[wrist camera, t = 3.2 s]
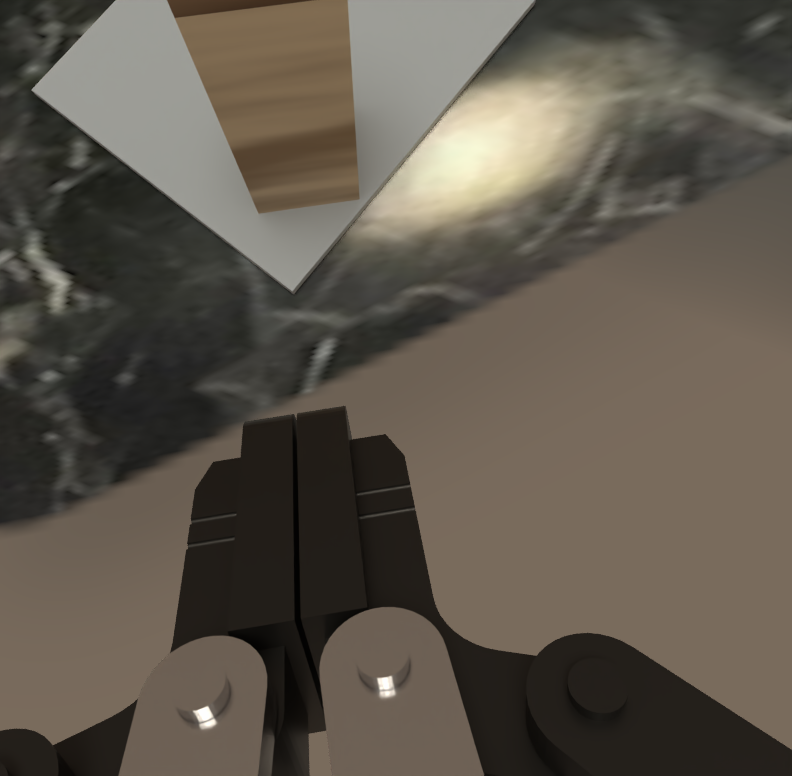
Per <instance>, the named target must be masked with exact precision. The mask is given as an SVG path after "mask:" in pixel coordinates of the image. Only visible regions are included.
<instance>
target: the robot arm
mask: <svg viewBox="0 0 792 776" xmlns="http://www.w3.org/2000/svg"><path fill="white" fill-rule="evenodd" d="M191 521H192V524H191V525H190V528H189V535H188V542H187V544H188V549H187V550H186V555H185V562H184V570H183V576H182V583H181V590H180V597H179V604H178V610H177V617H176V624H175V630H174V637H173V644H172V648H171V652H170V654H169V655H168V656H167V657H165V658H164V659H163V660H162V661H161V662H160V663H159V664H158V665H157V666H156V667H155V668H154V670H153V671H152V673H151V674H150V676H149V677H148V678H147V680H146V682H145V683H144V686H143V687H142V689H141V692H140V695H139V698H138V699H137V700H136V701H135V702H134V703H133V704H131V705H130V706H128V707H127V708H125V709H124V710H123V711H121V712H119V713H118V714H116V715H114V716H112V717H110V718H108V719H106V720H104V721H102V722H101V723H98V724H96V725H94V726H92V727H90V728H88V729H86V730H84V731H82V732H80V733H78V734H76V735H74V736H71V737H69V738H67V739H65V740H63V741H61V742H59V743H57V744H55V745H52V744H51V743H50V742H49V741H48V740H47V739H46V738H45V737H44V736H43V735H41V734H39V733H37V732H35V731H31V730H27V729H9V730H3V731H0V776H309V742H308V741H309V740H308V734H309V733H315V732H321V731H327V738H328V747H329V755H330V762H331V771H332V776H792V750H791V749H789V748H788V747H786V746H785V745H783V744H782V743H780V742H779V741H777V740H776V739H774V738H772V737H771V736H769V735H768V734H766V733H765V732H763V731H762V730H760V729H759V728H757V727H755V726H754V725H752V724H751V723H749V722H748V721H746V720H745V719H743V718H742V717H740V716H738V715H737V714H735V713H734V712H732V711H731V710H729V709H728V708H726V707H725V706H723V705H721V704H720V703H718V702H717V701H715V700H713V699H712V698H711V697H709V696H708V695H706V694H704V693H703V692H701V691H700V690H698V689H697V688H695V687H694V686H692V685H691V684H689V683H687V682H686V681H684V680H683V679H681V678H680V677H678V676H677V675H675V674H674V673H672V672H670V671H669V670H667V669H666V668H664V667H663V666H661V665H660V664H658V663H656V662H655V661H653V660H652V659H650V658H649V657H647V656H646V655H644V654H643V653H641V652H639V651H638V650H636V649H635V648H633V647H632V646H630V645H628V644H626V643H624V642H622V641H620V640H618V639H615V638H612V637H609V636H605V635H601V634H592V633H581V634H573V635H568V636H564V637H562V638H560V639H557V640H555V641H553V642H552V643H550V644H549V645H547V646H546V647H545V648H544V649H543V650H542V651H541V652H539V654H538V655H537V656H533V655H527V654H519V653H512V652H505V651H498V650H493V649H489V648H484V647H482V646H479V645H476V644H474V643H472V642H470V641H468V640H466V639H464V638H463V637H461V636H460V635H458V634H457V633H456V632H454V631H453V630H452V629H451V628H450V627H449V626H448V625H447V624H446V622H445V621H444V620H443V618H442V617H441V616H440V614H439V612H438V610H437V608H436V605H435V602H434V598H433V594H432V589H431V584H430V579H429V575H428V570H427V564H426V560H425V555H424V550H423V545H422V540H421V535H420V530H419V525H418V520H417V516H416V511H415V506H414V500H413V496H412V491H411V487H410V481H409V476H408V471H407V466H406V461H405V456H404V455H403V453H402V452H401V451H400V450H399V449H398V448H397V447H396V446H395V444H394V443H393V442H392V441H391V440H390V439H389V438H388V437H387V436H386V434H384V435H378V436H371V437H365V438H359V439H353V440H352V437H351V431H350V426H349V421H348V415H347V410H346V406H342V407H335V408H329V409H322V410H316V411H310V412H304V413H298V414H297V420H296V418H295V415H294V414H292V415H286V416H279V417H273V418H266V419H260V420H254V421H247V422H245V423H244V425H243V434H242V447H241V458H235V459H229V460H223V461H216V462H213V463H212V465H211V466H210V468H209V469H208V471H207V472H206V474H205V475H204V477H203V479H202V480H201V482H200V483H199V484H198V486H197V487H196V489H195V494H194V501H193V508H192V514H191Z"/></svg>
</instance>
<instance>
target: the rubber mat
mask: <svg viewBox="0 0 792 776" xmlns="http://www.w3.org/2000/svg"><path fill="white" fill-rule="evenodd" d="M535 1H536V0H348V14H349V30H350V47H351V64H352V81H353V97H354V114H355V131H356V148H357V164H358V181H359V198H360V199H359V200H352V201H345V202H338V203H331V204H324V205H316V206H309V207H302V208H295V209H288V210H281V211H274V212H267V213H260V214H258V211H257V209H256V207H255V204H254V202H253V200H252V197H251V195H250V193H249V190H248V188H247V186H246V183H245V181H244V179H243V176H242V174H241V172H240V169H239V167H238V165H237V163H236V160H235V158H234V156H233V153H232V151H231V149H230V146H229V144H228V142H227V139H226V137H225V135H224V132H223V130H222V128H221V125H220V123H219V121H218V118H217V116H216V114H215V111H214V109H213V107H212V104H211V102H210V100H209V97H208V95H207V93H206V90H205V88H204V86H203V83H202V81H201V79H200V76H199V74H198V72H197V69H196V67H195V65H194V62H193V60H192V58H191V55H190V53H189V51H188V48H187V46H186V44H185V41H184V39H183V37H182V34H181V32H180V30H179V27H178V25H177V23H176V20H175V18H174V16H173V13H172V11H171V9H170V6H169V4H168V2H167V0H116V1H115V2H114V3H113V4H112V5H111V6H110V7H109V8H108V9H107V10H106V11H105V12H104V13H103V14H102V15H101V17H100V18H99V19H98V20H97V21H96V22H95V23H94V24H93V25H92V26H91V27H90V28H89V29H88V30H87V31H86V32H85V34H84V35H83V36H82V37H81V38H80V39H79V40H78V41H77V42H76V43H75V44H74V45H73V46H72V47H71V48H70V49H69V51H68V52H67V53H66V54H65V55H64V56H63V57H62V58H61V59H60V60H59V61H58V62H57V63H56V64H55V65H54V66H53V68H52V69H51V70H50V71H49V72H48V73H47V74H46V75H45V76H44V77H43V78H42V79H41V80H40V81H39V82H38V83H37V85H36V86H35V87H34V88H33V89H32V91H33V92H34V93H35V95H36V96H37V97H39V98H40V99H41V100H42V101H44V102H45V103H46V104H48V105H49V106H50V107H51V108H53V109H54V110H55V111H57V112H58V113H59V114H61V115H62V116H63V117H64V118H66V119H67V120H68V121H70V122H71V123H72V124H73V125H75V126H76V127H77V128H79V129H80V130H81V131H83V132H84V133H85V134H86V135H88V136H89V137H90V138H92V139H93V140H94V141H95V142H97V143H98V144H99V145H101V146H102V147H103V148H105V149H106V150H107V151H108V152H110V153H111V154H112V155H114V156H115V157H116V158H117V159H119V160H120V161H121V162H123V163H124V164H125V165H127V166H128V167H129V168H130V169H132V170H133V171H134V172H136V173H137V174H138V175H139V176H141V177H142V178H143V179H145V180H146V181H147V182H149V183H150V184H151V185H152V186H154V187H155V188H156V189H158V190H159V191H160V192H161V193H163V194H164V195H165V196H167V197H168V198H169V199H171V200H172V201H173V202H174V203H176V204H177V205H178V206H180V207H181V208H182V209H183V210H185V211H186V212H187V213H189V214H190V215H191V216H192V217H194V218H195V219H196V220H198V221H199V222H200V223H202V224H203V225H204V226H205V227H207V228H208V229H209V230H211V231H212V232H213V233H214V234H216V235H217V236H218V237H220V238H221V239H222V240H224V241H225V242H226V243H227V244H229V245H230V246H231V247H233V248H234V249H235V250H236V251H238V252H239V253H240V254H242V255H243V256H244V257H246V258H247V259H248V260H249V261H251V262H252V263H253V264H255V265H256V266H257V267H258V268H260V269H261V270H262V271H264V272H265V273H266V274H268V275H269V276H270V277H271V278H273V279H274V280H275V281H277V282H278V283H279V284H280V285H282V286H283V287H284V288H286V289H287V290H288V291H290V292H291V293H292V294H293V295H294V294H295V292H296V291H297V290H298V289H299V287H300V286H301V285H302V284H303V283H304V281H305V280H306V279H307V278H308V277H309V275H310V274H311V273H312V272H313V271H314V269H315V268H316V267H317V266H318V265H319V263H320V262H321V261H322V260H323V259H324V257H325V256H326V255H327V254H328V253H329V251H330V250H331V249H332V248H333V247H334V245H335V244H336V243H337V242H338V241H339V239H340V238H341V237H342V236H343V235H344V233H345V232H346V231H347V230H348V229H349V227H350V226H351V225H352V224H353V223H354V221H355V220H356V219H357V218H358V217H359V215H360V214H361V213H362V212H363V211H364V209H365V208H366V207H367V206H368V204H369V203H370V202H371V201H372V200H373V198H374V197H375V196H376V195H377V194H378V192H379V191H380V190H381V189H382V188H383V186H384V185H385V184H386V183H387V182H388V180H389V179H390V178H391V177H392V176H393V174H394V173H395V172H396V171H397V170H398V168H399V167H400V166H401V165H402V164H403V162H404V161H405V160H406V159H407V158H408V156H409V155H410V154H411V153H412V152H413V150H414V149H415V148H416V147H417V146H418V144H419V143H420V142H421V141H422V140H423V138H424V137H425V136H426V135H427V134H428V132H429V131H430V130H431V129H432V128H433V126H434V125H435V124H436V123H437V121H438V120H439V119H440V118H441V117H442V115H443V114H444V113H445V112H446V111H447V109H448V108H449V107H450V106H451V105H452V103H453V102H454V101H455V100H456V99H457V97H458V96H459V95H460V94H461V93H462V91H463V90H464V89H465V88H466V87H467V85H468V84H469V83H470V82H471V81H472V79H473V78H474V77H475V76H476V75H477V73H478V72H479V71H480V70H481V69H482V67H483V66H484V65H485V64H486V63H487V61H488V60H489V59H490V58H491V57H492V55H493V54H494V53H495V52H496V51H497V49H498V48H499V47H500V46H501V45H502V43H503V42H504V41H505V40H506V38H507V37H508V36H509V35H510V34H511V32H512V31H513V30H514V29H515V28H516V26H517V25H518V24H519V23H520V22H521V20H522V19H523V18H524V17H525V16H526V14H527V13H528V12H529V11H530V10H531V8H532V7H533V6H534V4H535Z"/></svg>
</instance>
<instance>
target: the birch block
mask: <svg viewBox="0 0 792 776" xmlns="http://www.w3.org/2000/svg"><path fill="white" fill-rule="evenodd" d="M167 2H168V4H169V6H170V9H171V11H172V13H173V16H174V18H175V20H176V23H177V25H178V27H179V30H180V32H181V34H182V37H183V39H184V41H185V44H186V46H187V48H188V51H189V53H190V55H191V58H192V60H193V62H194V65H195V67H196V69H197V72H198V74H199V76H200V79H201V81H202V83H203V86H204V88H205V90H206V93H207V95H208V97H209V100H210V102H211V104H212V107H213V109H214V111H215V114H216V116H217V118H218V121H219V123H220V125H221V128H222V130H223V132H224V135H225V137H226V139H227V142H228V144H229V146H230V149H231V151H232V153H233V156H234V158H235V160H236V163H237V165H238V167H239V169H240V172H241V174H242V176H243V179H244V181H245V183H246V186H247V188H248V190H249V193H250V195H251V197H252V200H253V202H254V204H255V207H256V209H257V211H258V214H260V213H267V212H274V211H281V210H288V209H295V208H302V207H309V206H316V205H324V204H331V203H338V202H345V201H352V200H359V199H360V198H359V181H358V164H357V148H356V131H355V114H354V97H353V81H352V64H351V47H350V30H349V14H348V0H167Z"/></svg>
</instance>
